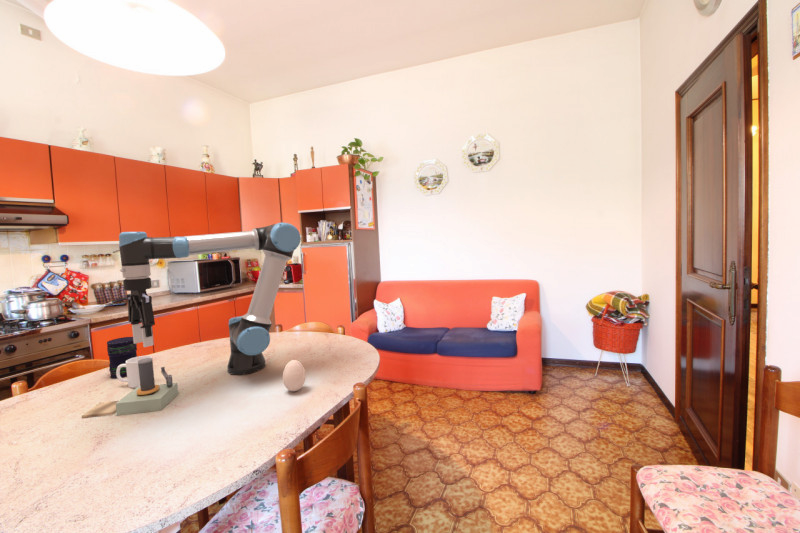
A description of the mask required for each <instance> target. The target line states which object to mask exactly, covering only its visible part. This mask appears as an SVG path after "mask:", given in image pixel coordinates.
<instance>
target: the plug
mask: <svg viewBox="0 0 800 533" xmlns="http://www.w3.org/2000/svg"><path fill="white" fill-rule="evenodd" d="M153 362H154V361H153V357H152V358H145V359H141V360H139V361H138V368H139V377H140V387H141V388H140V389H138V390H137V391H136V392H137V395H141V396H146V395H153V394H154V393H155V392H156V391H157V390H159V385H160V384H156V383H155V373H154V365H153V364H154V363H153Z"/></svg>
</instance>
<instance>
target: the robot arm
mask: <svg viewBox="0 0 800 533" xmlns="http://www.w3.org/2000/svg"><path fill="white" fill-rule="evenodd" d="M301 238H302V237H301V233H300V231H299V229H298V228H297V227H296V226H295V225H293V224H291V223H288V222H282V221H281V222H278V223H274V224H270V225H267V226H263V227H255V228H252V230H246V231H245V230H244V231H235V232H231V231H230V232H222V233H220V232H219V233H211V234H210V233H207V234H197V235H196V234H195V235H194V234H193V235H184V236H163V237H162V236H159V237H152V236H151V237H149V236H148V235H147V232H145V231H122V232H120V233H119V235H118V247H119V254H120V255H119V256H120V264H121V269H120V270H119V271H120V272H121V273H122V278H123V279H122V283H123V291H126V292H130V293H128V294H126V299H127V313H128V322H129V323H130V324H131V330H132V331H131V332H132V337H133V341H134V344H136V343H137V344H140V343H142V347H143V348H147V347H151V346H154V334H153V326H155V324H156V323H155V316H154V308H153V301H152V300H153V299H152V297H153V296H152V295H148V293H147V290H148V289H152V287H153V285H152V278H151V277H150V276H152V273H151V272H152V271H151V264H150V260H160V259H161V260H163V259H164V260H165V259H166V260H167V259H182V258H184V259H185V258H188V257H189V256H193V255H203V254H213V253H221V252H232V251H242V250H243V251H244V250H252V249H253V250H255V251H262V252H263V254H264V260H263V262H262V265H261V268H260V272H259V274H258V277H257V278H258V279H257V281H256V284H255V287H254V290H253V294H252V297H251V301H250V304H249V306H248V310H247V312H246V313H245V314H243V315H241V316H234V317H230V319H229V320H228V333H229V346H230V355H229V360H228V362H227V366H226V367H227V368H226V370H227V372H228V374H230V375H235V376H236V375H237V376H239V375H240V376H241V375H248V374H252V373H256V372H258V371H261V370H263V369H264V368H265V367H266V359H265V357H264V354H263V352H265V351H266V349H268V347H269V345H270V342H271V335H270V330H271V327H272V325H273V324H272V321H271V319H270V317H271V314H272V312H273V307H274V304H275V301H276V298H277V294H278V291H279V288H280V285H281V281H282V278H283V276H284V271H285V268H286V265H287V262H289V261H291V260H292V258H293V254H294V252H295V251H296V249H297V248H298V247H299V246H300V245H301V244H300V243H301V241H302V240H301Z"/></svg>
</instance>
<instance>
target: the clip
mask: <svg viewBox="0 0 800 533" xmlns="http://www.w3.org/2000/svg"><path fill="white" fill-rule="evenodd" d="M165 368H166V367H165V366H161V367H160V370H161V374H162V376H163V377H164V379H165V382H166V383H165V384H167V387H171V386H173V383H174V382H173V375H172V374H168V373H167V372H166V369H165Z"/></svg>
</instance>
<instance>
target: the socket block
mask: <svg viewBox="0 0 800 533" xmlns="http://www.w3.org/2000/svg"><path fill="white" fill-rule="evenodd" d="M172 383H173V386H171V387H167V384H166V383H163V384H162V383H160V384H158V385H159V390H157V391H156V392H155V393H154V394H153V395H146V396H141V395H137V392H136V391H137V390H138V389H140V388H141V387H137V388H133V390H131V391H130V392H129V393H127V394H126V395H125V396H124V397H122V398H121V399H119V400H117V401H118V402H117V403H116V416H122V415H123V416H124V415H130V414H131V415H133V414H139V413H140V414H141V413H147V412H157V411H162V410H163V409H164V408H166V406H167V405H168V404H170V402H171V401H172V400H173V399H174V398H175V397H176V396H177V395H178V394H179V387H178V386H179V385H178V382H172Z"/></svg>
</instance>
